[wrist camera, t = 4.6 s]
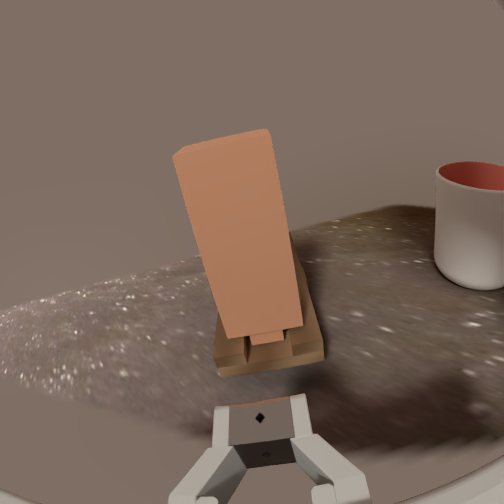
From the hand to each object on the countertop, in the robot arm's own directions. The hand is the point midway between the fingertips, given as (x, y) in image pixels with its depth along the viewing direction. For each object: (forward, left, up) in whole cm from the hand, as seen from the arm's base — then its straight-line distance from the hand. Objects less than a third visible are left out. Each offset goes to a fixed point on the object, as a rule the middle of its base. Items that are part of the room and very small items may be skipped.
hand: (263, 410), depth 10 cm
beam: (0, -17, -9) cm, 19 cm away
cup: (-22, -17, -9) cm, 29 cm away
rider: (0, -11, -6) cm, 13 cm away
